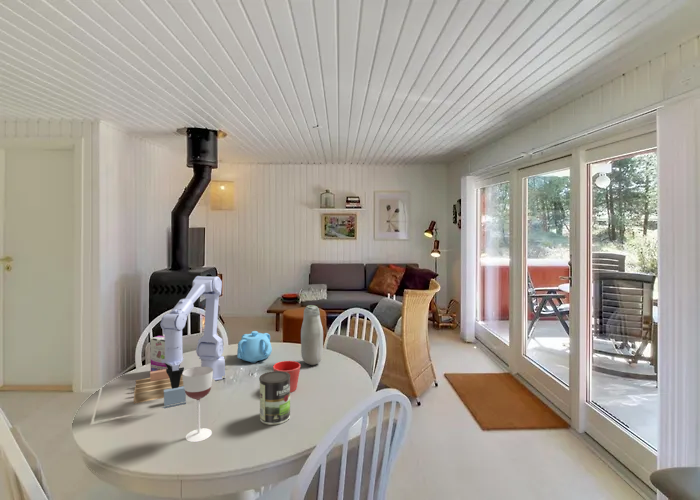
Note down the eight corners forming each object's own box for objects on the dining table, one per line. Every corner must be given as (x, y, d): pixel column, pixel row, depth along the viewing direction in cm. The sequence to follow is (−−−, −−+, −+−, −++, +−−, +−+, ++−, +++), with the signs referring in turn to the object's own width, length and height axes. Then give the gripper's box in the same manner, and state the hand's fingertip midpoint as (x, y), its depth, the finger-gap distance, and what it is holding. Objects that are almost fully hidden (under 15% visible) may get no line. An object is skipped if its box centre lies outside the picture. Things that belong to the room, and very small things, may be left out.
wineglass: (188, 428, 116) (187, 366, 115) (216, 427, 117) (216, 366, 116) (179, 442, 108) (178, 376, 107) (209, 441, 109) (208, 376, 108)
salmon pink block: (170, 382, 148) (169, 368, 148) (170, 384, 147) (170, 370, 146) (150, 386, 145) (150, 371, 145) (150, 388, 143) (150, 373, 143)
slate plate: (185, 401, 135) (184, 385, 134) (185, 404, 133) (185, 388, 132) (164, 406, 131) (163, 389, 131) (164, 408, 129) (163, 392, 129)
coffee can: (296, 414, 125) (296, 374, 124) (275, 428, 116) (275, 385, 116) (274, 407, 131) (274, 368, 130) (253, 419, 122) (252, 378, 121)
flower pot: (306, 388, 146) (306, 365, 145) (283, 397, 138) (283, 372, 137) (289, 381, 153) (289, 358, 153) (267, 389, 145) (267, 365, 145)
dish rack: (184, 380, 153) (184, 371, 153) (188, 395, 140) (188, 385, 139) (134, 389, 145) (134, 379, 144) (133, 406, 131) (133, 395, 130)
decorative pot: (242, 353, 188) (242, 327, 187) (273, 353, 189) (273, 327, 188) (233, 365, 172) (233, 336, 171) (268, 364, 172) (267, 336, 172)
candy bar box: (178, 374, 160) (177, 337, 159) (169, 378, 155) (168, 340, 154) (159, 370, 164) (159, 334, 163) (150, 374, 159) (149, 337, 158)
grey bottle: (326, 362, 175) (326, 304, 174) (313, 369, 167) (313, 308, 165) (310, 358, 181) (310, 302, 179) (297, 364, 172) (296, 306, 170)
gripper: (160, 343, 135) (161, 378, 136) (162, 354, 122) (162, 393, 123) (181, 340, 139) (181, 375, 139) (185, 351, 126) (185, 389, 127)
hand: (174, 383), depth 131 cm, fingers open, 7 cm apart
